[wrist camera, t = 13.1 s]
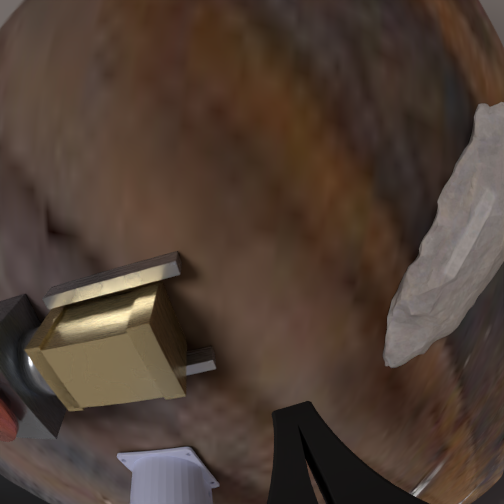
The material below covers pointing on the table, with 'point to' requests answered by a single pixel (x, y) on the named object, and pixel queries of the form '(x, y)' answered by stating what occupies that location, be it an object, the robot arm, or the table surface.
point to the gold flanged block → (112, 349)
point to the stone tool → (454, 246)
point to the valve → (27, 323)
